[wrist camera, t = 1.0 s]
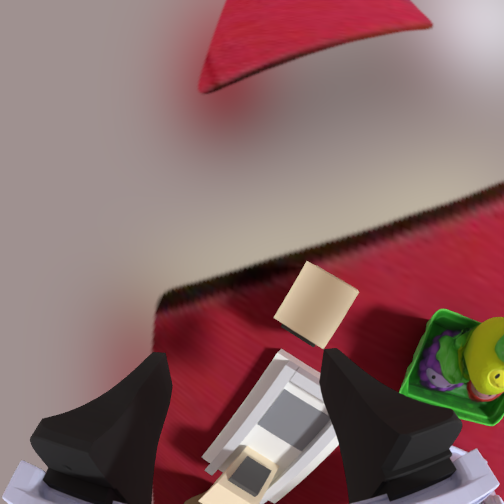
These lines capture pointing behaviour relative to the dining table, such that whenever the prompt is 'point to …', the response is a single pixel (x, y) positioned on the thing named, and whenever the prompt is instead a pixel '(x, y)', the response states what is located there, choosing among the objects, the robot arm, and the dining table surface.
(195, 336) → the dining table surface
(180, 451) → the dining table surface
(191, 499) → the squeeze bottle
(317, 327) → the maple finger
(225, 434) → the rail
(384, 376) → the dining table surface
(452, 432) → the robot arm
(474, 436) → the dining table surface
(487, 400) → the fruit basket
